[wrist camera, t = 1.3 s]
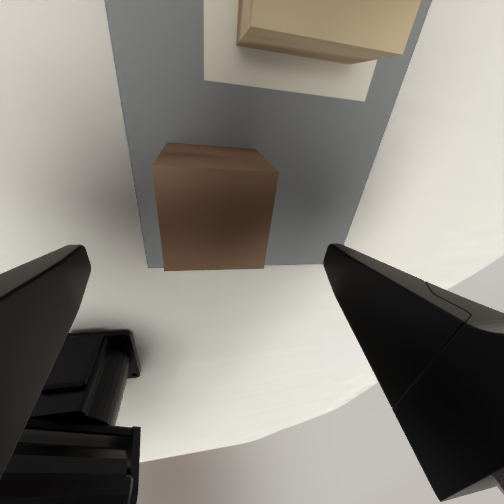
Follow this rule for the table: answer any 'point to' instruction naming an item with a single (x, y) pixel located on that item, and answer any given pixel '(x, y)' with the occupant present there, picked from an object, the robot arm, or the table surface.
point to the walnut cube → (213, 206)
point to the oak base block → (327, 28)
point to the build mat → (252, 114)
